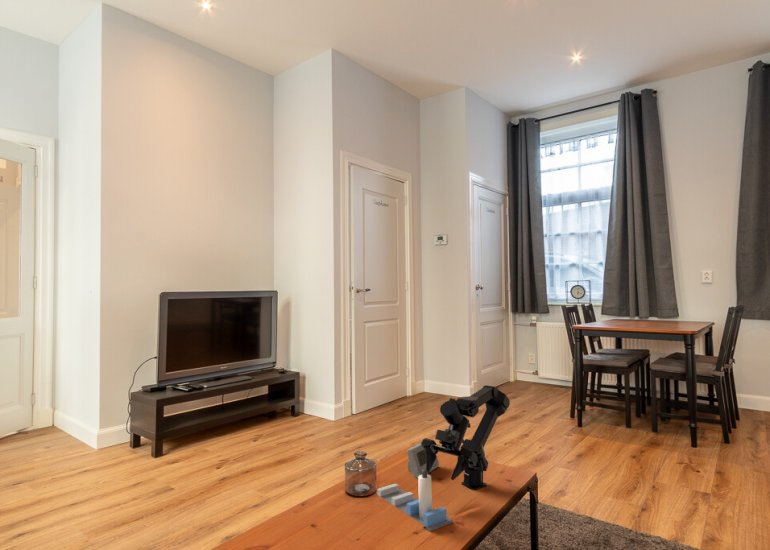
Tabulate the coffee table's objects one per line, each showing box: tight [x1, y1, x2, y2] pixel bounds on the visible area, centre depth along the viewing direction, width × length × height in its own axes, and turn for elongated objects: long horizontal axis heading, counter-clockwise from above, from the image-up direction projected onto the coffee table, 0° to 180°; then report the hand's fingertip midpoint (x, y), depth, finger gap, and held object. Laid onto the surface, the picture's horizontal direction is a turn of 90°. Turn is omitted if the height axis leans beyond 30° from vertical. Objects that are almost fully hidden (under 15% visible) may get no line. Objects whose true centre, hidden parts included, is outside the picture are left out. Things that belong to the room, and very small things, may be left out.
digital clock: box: [406, 441, 440, 479], centre depth 179 cm, size 16×9×11 cm, turn 132°
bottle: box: [417, 469, 433, 520], centre depth 143 cm, size 4×4×14 cm
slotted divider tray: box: [375, 483, 454, 533], centre depth 150 cm, size 9×28×4 cm, turn 35°
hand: (439, 475), depth 149 cm, fingers open, 9 cm apart
